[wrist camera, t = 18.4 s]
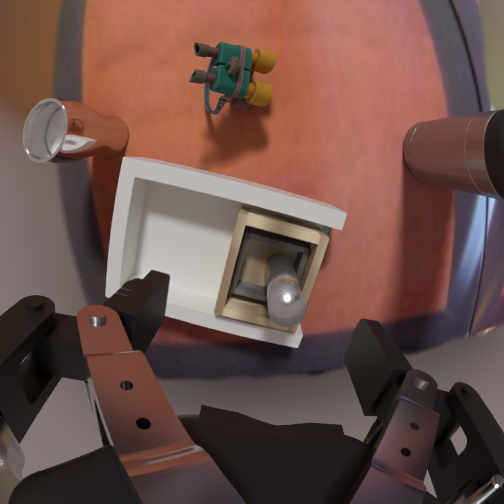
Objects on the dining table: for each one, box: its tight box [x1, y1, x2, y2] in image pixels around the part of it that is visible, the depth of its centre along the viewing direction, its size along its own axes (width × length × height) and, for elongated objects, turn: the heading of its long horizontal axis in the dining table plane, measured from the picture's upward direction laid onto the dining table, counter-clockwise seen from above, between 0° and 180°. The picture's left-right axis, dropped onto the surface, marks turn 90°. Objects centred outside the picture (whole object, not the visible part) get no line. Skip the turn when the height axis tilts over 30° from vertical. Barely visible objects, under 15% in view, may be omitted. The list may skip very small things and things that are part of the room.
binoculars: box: [189, 42, 276, 115], centre depth 29 cm, size 9×9×10 cm
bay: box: [106, 157, 347, 348], centre depth 36 cm, size 26×18×6 cm
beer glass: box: [23, 98, 128, 163], centre depth 28 cm, size 7×7×15 cm
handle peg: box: [265, 253, 306, 327], centre depth 31 cm, size 3×3×12 cm
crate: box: [214, 206, 330, 332], centre depth 35 cm, size 10×12×6 cm
